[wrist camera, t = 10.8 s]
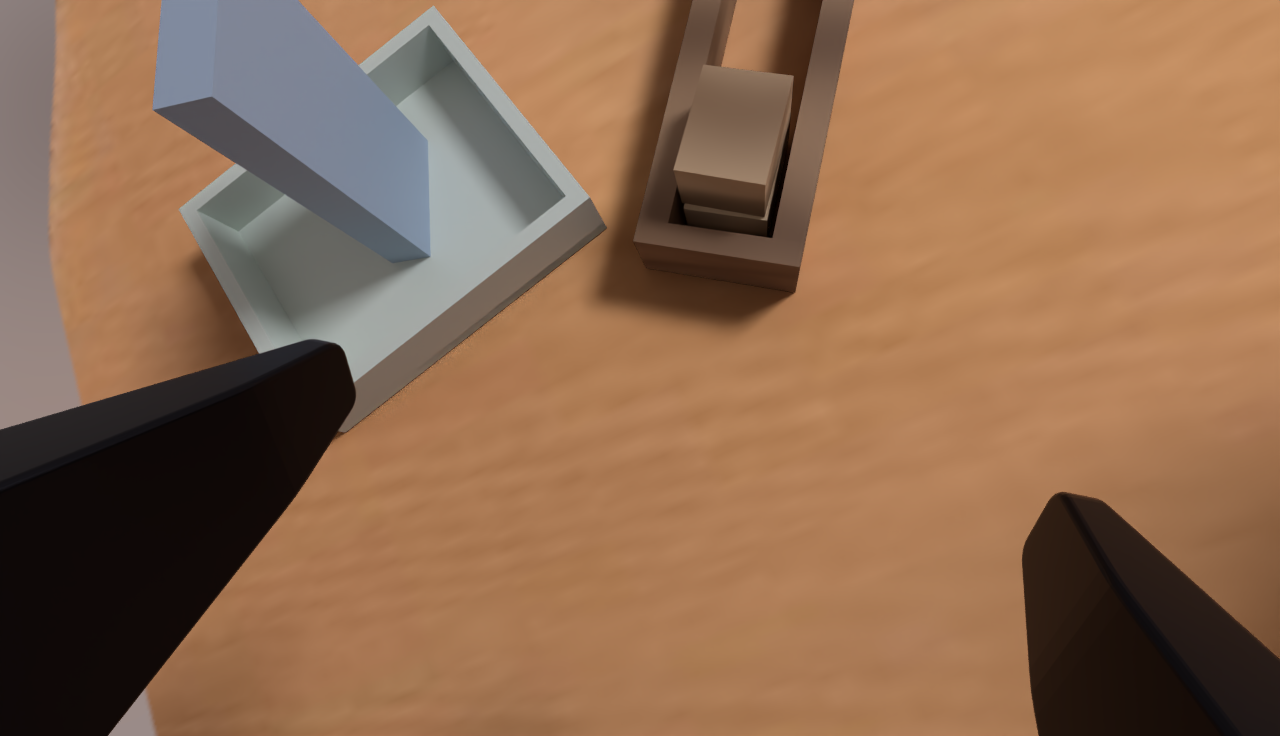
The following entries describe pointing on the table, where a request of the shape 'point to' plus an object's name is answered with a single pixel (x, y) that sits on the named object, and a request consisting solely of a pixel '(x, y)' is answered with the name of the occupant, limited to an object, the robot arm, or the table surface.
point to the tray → (459, 228)
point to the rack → (781, 256)
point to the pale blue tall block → (296, 116)
